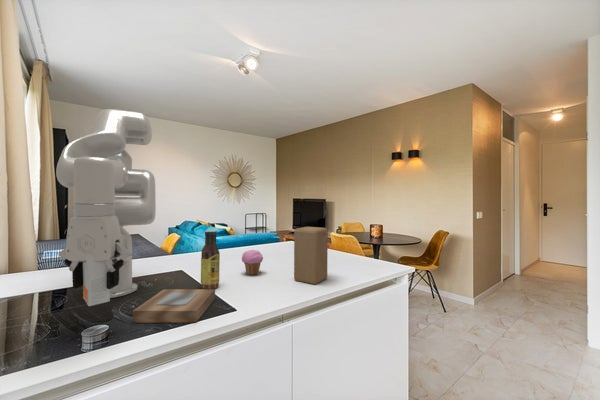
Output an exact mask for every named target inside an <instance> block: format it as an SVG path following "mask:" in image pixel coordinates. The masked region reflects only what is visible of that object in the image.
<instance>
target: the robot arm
mask: <svg viewBox="0 0 600 400" xmlns="http://www.w3.org/2000/svg"><path fill="white" fill-rule="evenodd" d="M152 137H153V131H152V127H151V121H150V120H149V118H148V116H146V115H145V114H144V113H142V112H140V111H130V110H123V109H115V108H106V109H102V110H101V111H99V112H98V113H97V114H96V118H95V121H94V124H93V128H92V131H91V133H89V134H87V135H83V136H82V137H79V138H77V139H75V140H73V141H70V142H69V143H68V144H67V145H66V146H64V147H63V150H62V151H61V154H60V156H59V159H58V162H57V165H56V173H55V174H56V178H57V179H56V180H57V182H59V184H60V185H62V186H63V187H64V188H68V189H73V199H74V200H73V201H74V202H73V203H74V204H73V205H71V206H70V211H71V212H74V213H73V217H70V220H69V222H68V227H67V233H66V241H65V242H66V243H65V247H64V249H62V250H61V251H60V252H59V253H58V255H59V257H60V258H61V259H62V260H63V262H64V264H65V265H66V266H67V267H68V270H69V271H70V272H71V274H72V275H71V278H72V279H71V280H72V289H78V288H81V287H83V262H86V255H87V253H93V261H95V262H105V264H106V265H107V267H108V269H109V272H107V289H110V299H113V298H119V297H122V296H126V295H129V294H133V293H134V292H135V291H137V290H138V284H137V283H134V282H133V239H132V238H133V237H132V236H131V234H130V233H129V232H128V231H127V230H126V229H125V228H124V227H127V226H145V225H151V224H152V223H154V221H155V220H156V179H155V175H154V173H152V172H151V171H150V170H146V169H137V168H133V158H132V156H131V155H130V154H129V153H128V151H126V149H125V148H126V145H138V146H147V145H149V144H150V143H151V142H152Z"/></svg>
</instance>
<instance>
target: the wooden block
mask: <svg viewBox="0 0 600 400" xmlns="http://www.w3.org/2000/svg"><path fill="white" fill-rule="evenodd" d="M293 233H294V235H293V239H294V240H293V244H294V245H293V255H294V256H293V259H294V261H293V280H294V281H296V282H302V283H307V284H311V285H318V284H319V283H321V282H323V281H324V280H326V279H327V278H328V245H329V243H328V241H329V239H328V233H329V232H328V228H326V227H318V226H316V227H315V226H303V227H299V228H298V227H297V228H295V229H294V232H293Z"/></svg>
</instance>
